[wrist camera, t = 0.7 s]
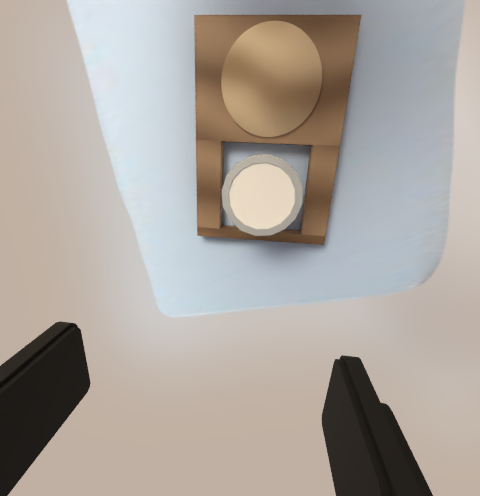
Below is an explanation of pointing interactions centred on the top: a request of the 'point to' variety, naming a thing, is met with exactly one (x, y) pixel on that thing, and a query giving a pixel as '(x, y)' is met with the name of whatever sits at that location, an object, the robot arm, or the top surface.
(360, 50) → the top surface
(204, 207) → the pocket board
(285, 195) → the cream short cylinder
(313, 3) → the top surface
